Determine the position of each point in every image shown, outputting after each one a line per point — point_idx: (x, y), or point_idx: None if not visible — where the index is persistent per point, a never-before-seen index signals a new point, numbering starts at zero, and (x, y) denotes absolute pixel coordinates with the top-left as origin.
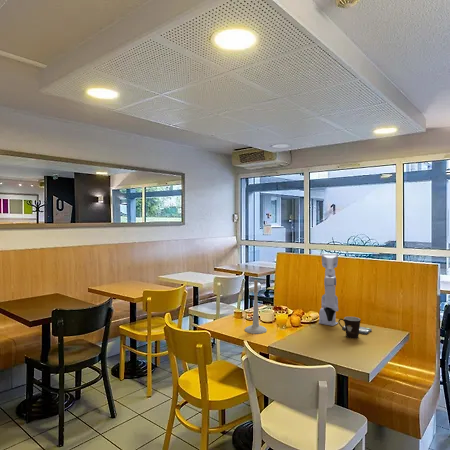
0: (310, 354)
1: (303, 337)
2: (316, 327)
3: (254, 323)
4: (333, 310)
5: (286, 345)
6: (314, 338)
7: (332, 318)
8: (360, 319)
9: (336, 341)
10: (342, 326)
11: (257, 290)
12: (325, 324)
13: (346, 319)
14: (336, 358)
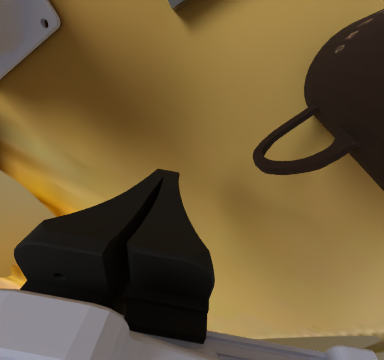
0: (336, 328)
1: None
2: (84, 160)
3: None
4: (204, 296)
5: (241, 327)
6: (235, 258)
7: (178, 185)
8: None
9: (327, 220)
10: (287, 127)
11: None
12: (20, 61)
13: (380, 122)
14: None
